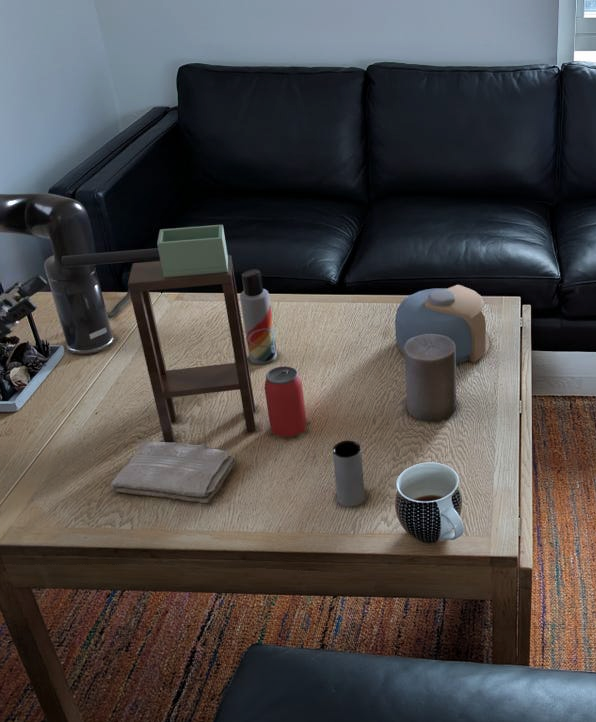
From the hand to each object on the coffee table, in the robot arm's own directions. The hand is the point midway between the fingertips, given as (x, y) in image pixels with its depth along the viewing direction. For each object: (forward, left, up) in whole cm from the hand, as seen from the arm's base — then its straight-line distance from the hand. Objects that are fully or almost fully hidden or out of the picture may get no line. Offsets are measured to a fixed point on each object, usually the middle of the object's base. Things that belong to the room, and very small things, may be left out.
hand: (37, 290), depth 134 cm
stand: (0, +22, -30) cm, 38 cm away
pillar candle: (+3, +63, -31) cm, 71 cm away
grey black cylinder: (+26, +45, -31) cm, 61 cm away
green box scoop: (0, +17, +2) cm, 18 cm away
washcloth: (+14, +17, -31) cm, 38 cm away
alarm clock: (-20, +70, -31) cm, 79 cm away
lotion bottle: (-23, +32, -31) cm, 50 cm away
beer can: (+4, +36, -31) cm, 48 cm away
